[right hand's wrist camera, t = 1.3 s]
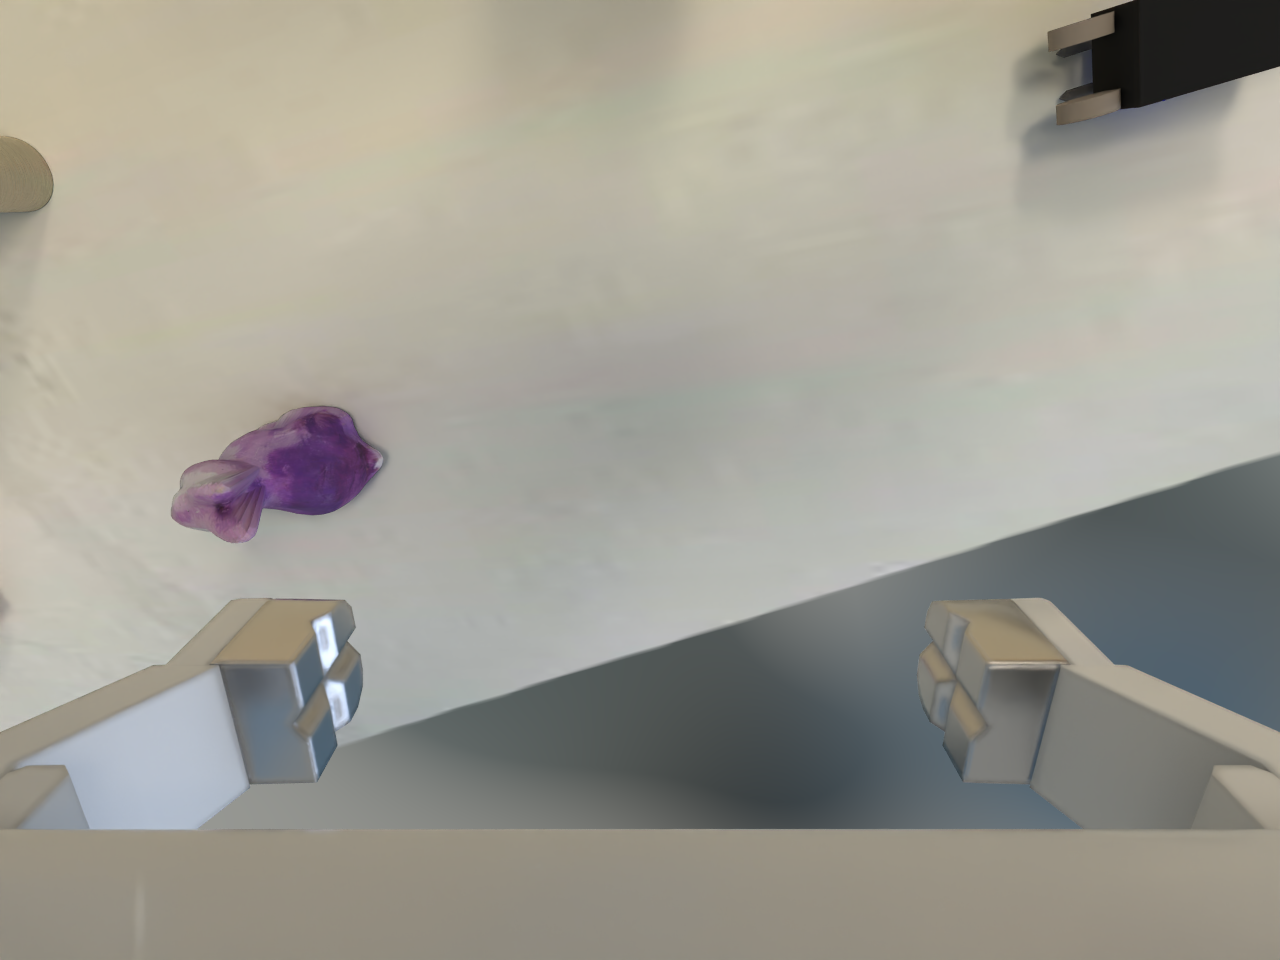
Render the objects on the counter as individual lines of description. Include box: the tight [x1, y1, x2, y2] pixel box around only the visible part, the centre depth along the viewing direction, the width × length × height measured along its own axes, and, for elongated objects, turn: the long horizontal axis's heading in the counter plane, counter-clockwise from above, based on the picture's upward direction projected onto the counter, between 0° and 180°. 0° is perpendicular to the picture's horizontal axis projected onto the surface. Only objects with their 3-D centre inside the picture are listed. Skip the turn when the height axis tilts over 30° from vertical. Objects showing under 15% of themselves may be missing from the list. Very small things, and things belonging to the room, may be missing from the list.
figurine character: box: [1048, 0, 1280, 125], centre depth 46 cm, size 7×8×15 cm
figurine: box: [171, 406, 383, 543], centre depth 53 cm, size 9×10×15 cm
